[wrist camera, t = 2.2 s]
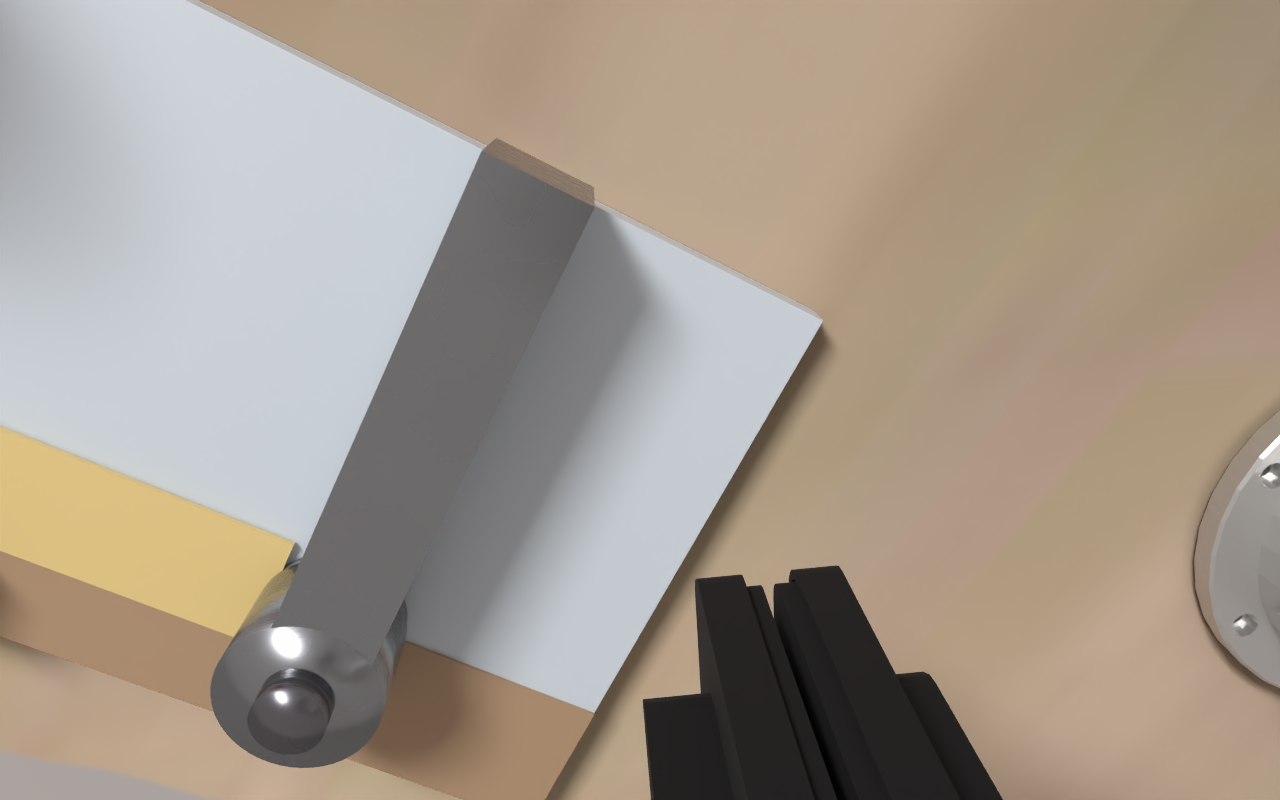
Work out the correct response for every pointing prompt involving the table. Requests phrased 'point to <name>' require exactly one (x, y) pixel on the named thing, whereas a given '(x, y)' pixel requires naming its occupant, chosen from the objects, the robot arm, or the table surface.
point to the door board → (329, 385)
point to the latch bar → (401, 472)
